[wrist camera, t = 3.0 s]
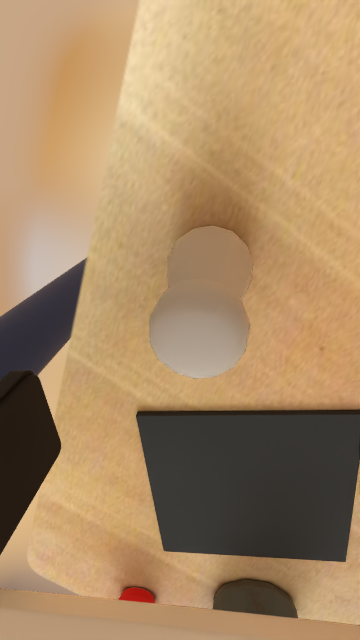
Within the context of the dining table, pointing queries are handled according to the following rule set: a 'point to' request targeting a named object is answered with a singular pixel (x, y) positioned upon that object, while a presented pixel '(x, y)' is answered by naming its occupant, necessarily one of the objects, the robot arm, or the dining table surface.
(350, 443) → the mat
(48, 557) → the dining table surface
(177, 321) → the salt shaker
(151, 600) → the beverage can
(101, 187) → the dining table surface
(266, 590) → the bottle
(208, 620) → the robot arm
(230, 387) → the dining table surface
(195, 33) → the dining table surface
